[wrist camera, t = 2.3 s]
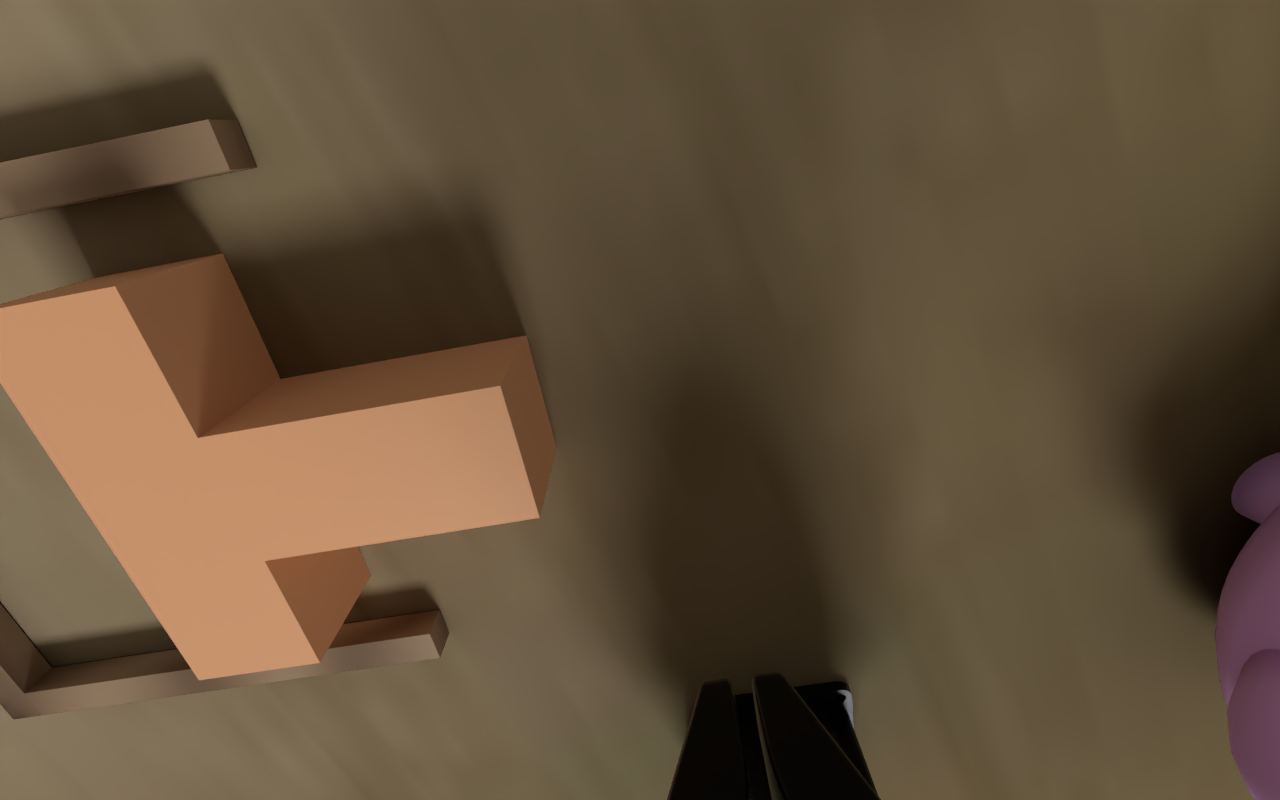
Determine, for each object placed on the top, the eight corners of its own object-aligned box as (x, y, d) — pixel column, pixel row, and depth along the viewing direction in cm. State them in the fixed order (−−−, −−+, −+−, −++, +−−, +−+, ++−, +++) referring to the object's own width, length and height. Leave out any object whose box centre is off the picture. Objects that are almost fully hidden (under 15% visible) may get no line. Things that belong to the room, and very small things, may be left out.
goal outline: (237, 120, 16) (208, 119, 15) (448, 633, 24) (439, 657, 22) (-335, 238, 17) (-402, 245, 16) (41, 693, 25) (13, 719, 24)
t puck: (490, 201, 17) (451, 221, 13) (582, 542, 22) (572, 626, 18) (94, 277, 18) (-44, 316, 14) (269, 591, 23) (198, 680, 19)
